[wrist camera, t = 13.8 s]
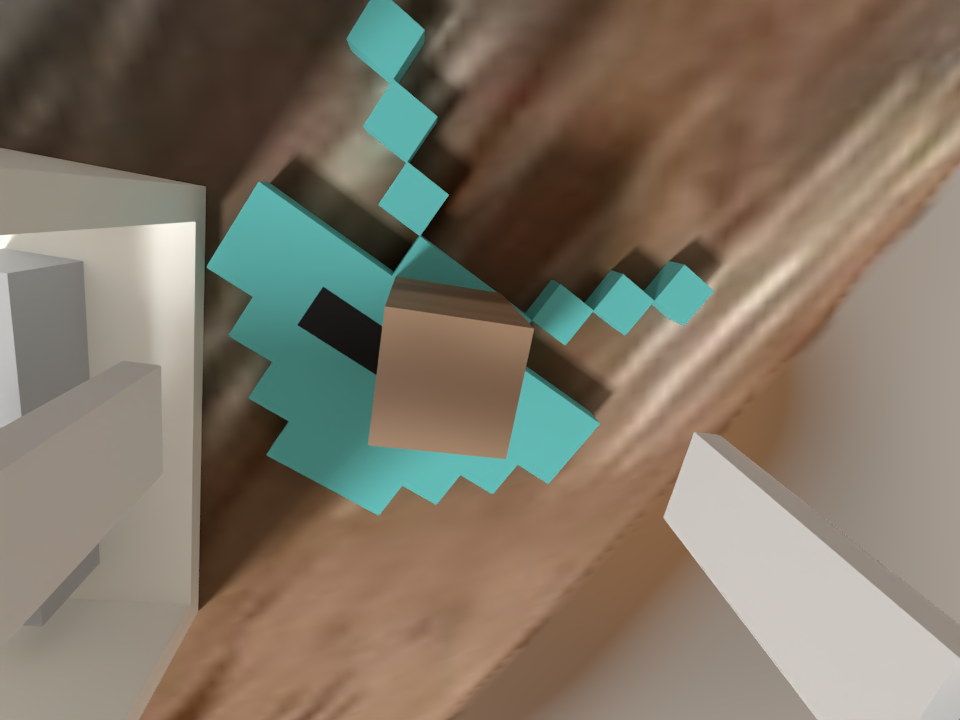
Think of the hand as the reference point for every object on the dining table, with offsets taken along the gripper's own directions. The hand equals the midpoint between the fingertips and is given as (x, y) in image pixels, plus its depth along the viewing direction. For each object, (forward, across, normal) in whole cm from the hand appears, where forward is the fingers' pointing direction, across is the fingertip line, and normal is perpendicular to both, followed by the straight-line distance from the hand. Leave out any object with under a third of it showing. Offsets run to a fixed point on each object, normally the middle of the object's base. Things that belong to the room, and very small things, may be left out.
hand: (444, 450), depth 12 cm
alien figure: (+14, 0, 0) cm, 14 cm away
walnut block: (+12, 0, 0) cm, 12 cm away
